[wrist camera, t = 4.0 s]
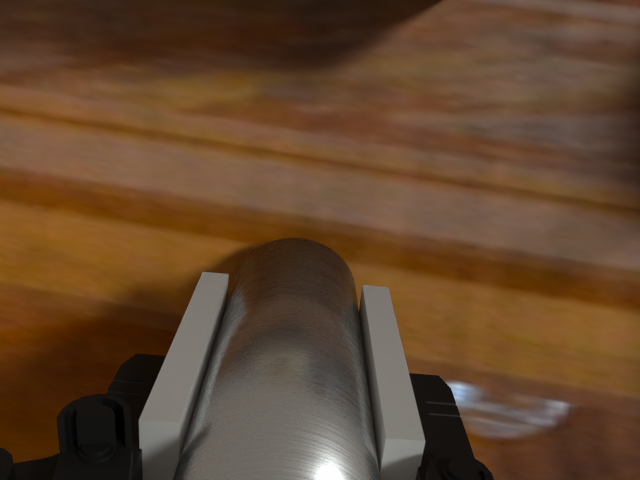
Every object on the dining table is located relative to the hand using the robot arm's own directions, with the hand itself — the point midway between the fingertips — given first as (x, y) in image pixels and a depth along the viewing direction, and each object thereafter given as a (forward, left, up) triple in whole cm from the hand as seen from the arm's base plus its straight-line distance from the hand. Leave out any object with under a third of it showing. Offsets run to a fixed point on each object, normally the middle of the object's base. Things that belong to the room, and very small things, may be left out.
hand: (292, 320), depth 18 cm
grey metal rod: (0, 0, -2) cm, 2 cm away
